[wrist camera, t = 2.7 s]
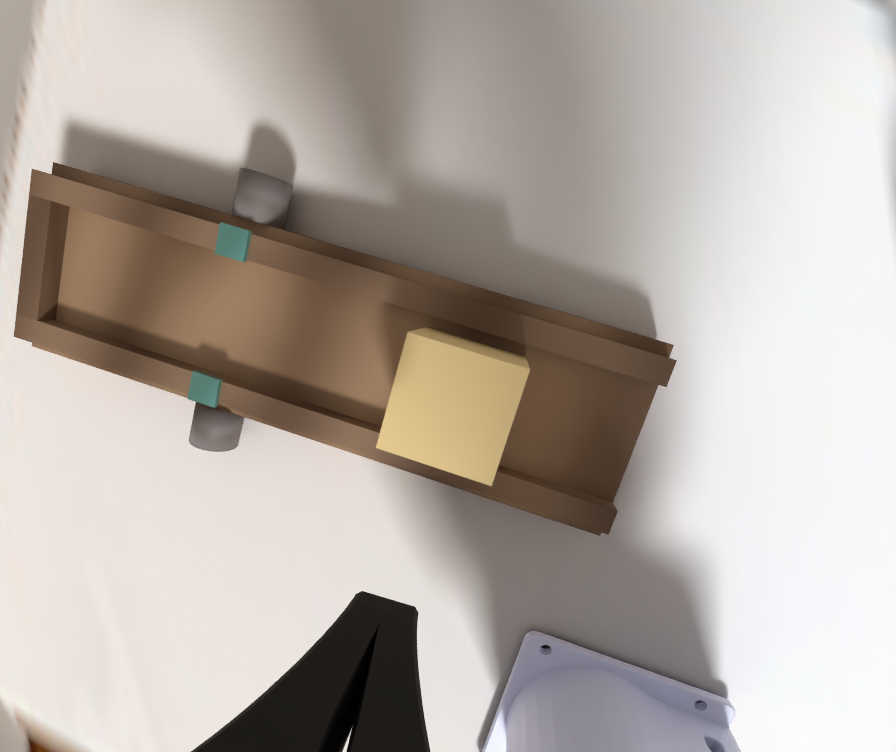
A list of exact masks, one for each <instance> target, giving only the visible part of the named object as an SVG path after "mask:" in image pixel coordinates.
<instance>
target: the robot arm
mask: <svg viewBox="0 0 896 752" xmlns="http://www.w3.org/2000/svg"><path fill="white" fill-rule="evenodd" d="M417 619H418V611H417V610H416V608H415V607H414V606H410V605H407V604H404V603H400V602H397V601H394V600H390V599H387V598H384V597H380V596H377V595H373V594H370V593H367V592H363V591H361V592H359V593H357V594H356V595H355V597H354V598H353V600H352V601H351V602H350V604H349V605H348V606H347V608H346V609H345V610H344V611H343V613H342V614H341V615H340V616H339V618H338V619H337V620H336V621H335V622H334V623H333V625H332V626H331V627H330V628H329V629H328V630H327V631H326V632H325V634H324V635H323V636H322V637H321V638H320V639H319V640H318V641H317V642H316V643H315V644H314V645H313V646H312V647H311V648H310V649H309V650H308V651H307V652H306V654H305V655H304V656H303V657H302V658H301V659H300V660H299V661H298V662H297V663H296V664H295V665H294V666H293V667H291V668H290V669H289V670H288V671H287V672H286V673H285V674H284V675H283V676H282V677H281V678H280V679H279V680H277V681H276V682H275V683H274V684H273V685H272V686H271V687H270V688H269V689H268V690H267V691H266V692H265V693H263V694H262V695H261V696H260V697H259V698H258V699H257V700H255V701H254V702H253V703H252V704H251V705H250V706H249V707H247V708H246V709H245V710H244V711H243V712H241V713H240V714H239V715H238V716H237V717H235V718H234V719H233V720H232V721H230V722H229V723H228V724H227V725H225V726H224V727H223V728H222V729H220V730H219V731H218V732H217V733H215V734H214V735H213V736H212V737H210V738H209V739H208V740H206V741H205V742H203V743H202V744H201V745H199V746H198V747H197V748H195V749H194V750H193V751H191V752H342V751H343V748H344V746H345V743H346V741H347V738H348V736H349V733H350V731H351V728H352V731H351V735H350V739H349V744H348V748H347V752H430V748H429V742H428V736H427V731H426V725H425V719H424V712H423V706H422V697H421V689H420V680H419V671H418V657H417ZM543 645H548V646H550V648H547V649H543V648H542V647H541V646H543ZM699 700H702V702H700V703H695V702H696V701H699ZM734 717H735V710H734V708H733V706H732V704H731V703H730V701H729V700H727V699H726V698H724V697H721V696H718V695H715V694H712V693H710V692H707V691H704V690H701V689H698V688H696V687H693V686H690V685H687V684H684V683H682V682H679V681H676V680H673V679H670V678H667V677H665V676H662V675H659V674H656V673H653V672H651V671H648V670H645V669H642V668H639V667H637V666H634V665H631V664H628V663H625V662H623V661H620V660H617V659H614V658H611V657H608V656H606V655H603V654H600V653H597V652H594V651H592V650H589V649H586V648H583V647H580V646H578V645H575V644H572V643H569V642H566V641H563V640H561V639H558V638H555V637H552V636H549V635H547V634H544V633H541V632H538V631H530V632H528V633H527V634H526V635H525V637H524V639H523V642H522V644H521V647H520V650H519V653H518V655H517V658H516V661H515V663H514V666H513V669H512V671H511V674H510V677H509V679H508V682H507V685H506V688H505V690H504V693H503V696H502V698H501V701H500V704H499V706H498V709H497V712H496V715H495V717H494V720H493V723H492V725H491V728H490V731H489V733H488V736H487V739H486V742H485V744H484V747H483V750H482V752H741V751H740V749H739V747H738V745H737V743H736V741H735V739H734V737H733V735H732V733H731V731H730V729H729V727H730V725H731V723H732V721H733V719H734Z"/></svg>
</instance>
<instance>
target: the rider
mask: <svg viewBox="0 0 896 752" xmlns="http://www.w3.org/2000/svg"><path fill="white" fill-rule="evenodd" d="M529 372H530V368H529V364H528V361H527V358H526V357H524V356H521V355H518V354H515V353H511V352H508V351H505V350H502V349H498V348H495V347H492V346H488V345H485V344H482V343H479V342H475V341H472V340H469V339H465V338H462V337H459V336H456V335H452V334H449V333H446V332H443V331H439V330H436V329H433V328H429V327H425V328H421V329H417V330H413V331H409V332H407V336H406V339H405V343H404V347H403V350H402V354H401V358H400V361H399V365H398V369H397V372H396V376H395V380H394V383H393V387H392V390H391V394H390V398H389V401H388V405H387V409H386V412H385V416H384V420H383V423H382V427H381V431H380V434H379V438H378V442H377V445H376V448H378V449H381V450H384V451H387V452H390V453H393V454H396V455H399V456H402V457H405V458H408V459H411V460H414V461H417V462H420V463H423V464H426V465H429V466H432V467H435V468H438V469H441V470H444V471H447V472H450V473H453V474H456V475H459V476H462V477H465V478H468V479H471V480H474V481H477V482H480V483H483V484H486V485H489V486H492V483H493V480H494V477H495V474H496V471H497V468H498V465H499V462H500V459H501V456H502V453H503V450H504V447H505V444H506V441H507V438H508V435H509V432H510V429H511V426H512V423H513V420H514V417H515V414H516V411H517V408H518V405H519V402H520V399H521V396H522V393H523V390H524V387H525V384H526V381H527V378H528V375H529Z"/></svg>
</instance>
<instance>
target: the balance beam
mask: <svg viewBox="0 0 896 752" xmlns="http://www.w3.org/2000/svg"><path fill="white" fill-rule="evenodd" d="M292 189H293V186H292V185H290V184H288V183H286V182H284V181H282V180H279V179H277V178H274V177H271V176H268V175H266V174H263V173H260V172H256V171H253V170H249V169H245V168H240V173H239V179H238V184H237V189H236V194H235V200H234V205H233V210H232V215H231V214H227V213H224V212H221V211H217V210H214V209H210V208H207V207H204V206H200V205H197V204H193V203H190V202H187V201H183V200H180V199H176V198H173V197H170V196H166V195H163V194H159V193H156V192H153V191H149V190H146V189H142V188H139V187H136V186H132V185H129V184H125V183H122V182H119V181H115V180H112V179H109V178H105V177H102V176H98V175H95V174H92V173H88V172H85V171H81V170H78V169H75V168H71V167H68V166H64V165H61V164H58V163H54V162H53V168H52V174H48V173H45V172H41V171H38V170H34V169H32V173H31V183H30V192H29V201H28V211H27V220H26V229H25V238H24V248H23V257H22V266H21V276H20V285H19V294H18V304H17V313H16V322H15V331H14V337H17V338H20V339H23V340H26V341H29V342H32V346H33V347H36V348H39V349H42V350H45V351H48V352H51V353H54V354H57V355H60V356H63V357H66V358H69V359H72V360H75V361H78V362H81V363H84V364H87V365H90V366H93V367H96V368H99V369H102V370H105V371H108V372H111V373H114V374H117V375H120V376H123V377H126V378H129V379H132V380H135V381H138V382H141V383H144V384H147V385H150V386H153V387H156V388H159V389H162V390H165V391H168V392H171V393H174V394H177V395H180V396H183V397H186V398H187V399H190V400H193V401H196V405H195V410H194V415H193V421H192V426H191V431H190V436H189V442H190V444H191V445H193V446H194V447H196V448H199V449H202V450H207V451H215V452H221V451H229V450H232V449H235V448H236V447H237V446H238V443H239V438H240V434H241V429H242V424H243V419H244V417H246V418H249V419H252V420H255V421H258V422H261V423H264V424H267V425H270V426H273V427H276V428H279V429H282V430H285V431H288V432H291V433H294V434H297V435H300V436H303V437H306V438H309V439H312V440H315V441H318V442H321V443H324V444H327V445H330V446H333V447H336V448H339V449H342V450H345V451H348V452H351V453H354V454H357V455H360V456H363V457H366V458H369V459H372V460H375V461H378V462H381V463H384V464H387V465H390V466H393V467H396V468H399V469H402V470H405V471H408V472H411V473H414V474H417V475H420V476H423V477H426V478H429V479H432V480H435V481H438V482H441V483H444V484H447V485H450V486H453V487H456V488H459V489H462V490H465V491H468V492H471V493H474V494H477V495H480V496H483V497H486V498H489V499H492V500H495V501H498V502H501V503H503V504H506V505H509V506H512V507H515V508H518V509H521V510H524V511H527V512H530V513H533V514H536V515H539V516H542V517H545V518H548V519H551V520H554V521H557V522H560V523H563V524H566V525H569V526H572V527H575V528H578V529H581V530H584V531H587V532H590V533H593V534H596V535H599V536H600V534H601V532H602V533H605V534H609V532H610V529H611V527H612V524H613V522H614V519H615V517H616V514H617V509H616V507H615V506H614V504H613V501H614V498H615V495H616V493H617V490H618V488H619V485H620V483H621V480H622V477H623V475H624V472H625V470H626V467H627V464H628V462H629V459H630V457H631V454H632V452H633V449H634V446H635V444H636V441H637V439H638V436H639V434H640V431H641V428H642V426H643V423H644V421H645V418H646V416H647V413H648V410H649V408H650V405H651V403H652V400H653V398H654V395H655V392H656V390H657V387H658V385H661V386H664V387H666V386H667V384H668V381H669V379H670V376H671V374H672V371H673V369H674V366H675V364H676V361H677V360H674V359H671V358H669V356H670V354H671V351H672V349H673V346H674V345H672V344H669V343H665V342H662V341H658V340H655V339H652V338H648V337H645V336H641V335H638V334H635V333H631V332H628V331H624V330H621V329H618V328H614V327H611V326H608V325H604V324H601V323H597V322H594V321H591V320H587V319H584V318H580V317H577V316H574V315H570V314H567V313H563V312H560V311H557V310H553V309H550V308H546V307H543V306H540V305H536V304H533V303H529V302H526V301H523V300H519V299H516V298H512V297H509V296H506V295H502V294H499V293H495V292H492V291H489V290H485V289H482V288H479V287H475V286H472V285H468V284H465V283H462V282H458V281H455V280H451V279H448V278H445V277H441V276H438V275H434V274H431V273H428V272H424V271H421V270H417V269H414V268H411V267H407V266H404V265H400V264H397V263H394V262H390V261H387V260H383V259H380V258H377V257H373V256H370V255H366V254H363V253H360V252H356V251H353V250H350V249H346V248H343V247H339V246H336V245H333V244H329V243H326V242H322V241H319V240H316V239H312V238H309V237H305V236H302V235H299V234H295V233H292V232H288V231H285V230H284V226H285V222H286V217H287V212H288V207H289V203H290V198H291V193H292ZM425 327H429V328H433V329H436V330H439V331H443V332H446V333H449V334H452V335H456V336H459V337H462V338H465V339H469V340H472V341H475V342H479V343H482V344H485V345H488V346H492V347H495V348H498V349H502V350H505V351H508V352H511V353H515V354H518V355H521V356H524V357H526V358H527V361H528V364H529V368H530V372H529V375H528V378H527V381H526V384H525V387H524V390H523V393H522V396H521V399H520V402H519V405H518V408H517V411H516V414H515V417H514V420H513V423H512V426H511V429H510V432H509V435H508V438H507V441H506V444H505V447H504V450H503V453H502V456H501V459H500V462H499V465H498V468H497V471H496V474H495V477H494V480H493V483H492V486H489V485H486V484H483V483H480V482H477V481H474V480H471V479H468V478H465V477H462V476H459V475H456V474H453V473H450V472H447V471H444V470H441V469H438V468H435V467H432V466H429V465H426V464H423V463H420V462H417V461H414V460H411V459H408V458H405V457H402V456H399V455H396V454H393V453H390V452H387V451H384V450H381V449H378V448H376V445H377V442H378V438H379V434H380V431H381V427H382V423H383V420H384V416H385V412H386V409H387V405H388V401H389V398H390V394H391V390H392V387H393V383H394V380H395V376H396V372H397V369H398V365H399V361H400V358H401V354H402V350H403V347H404V343H405V339H406V336H407V332H409V331H413V330H417V329H421V328H425Z"/></svg>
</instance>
